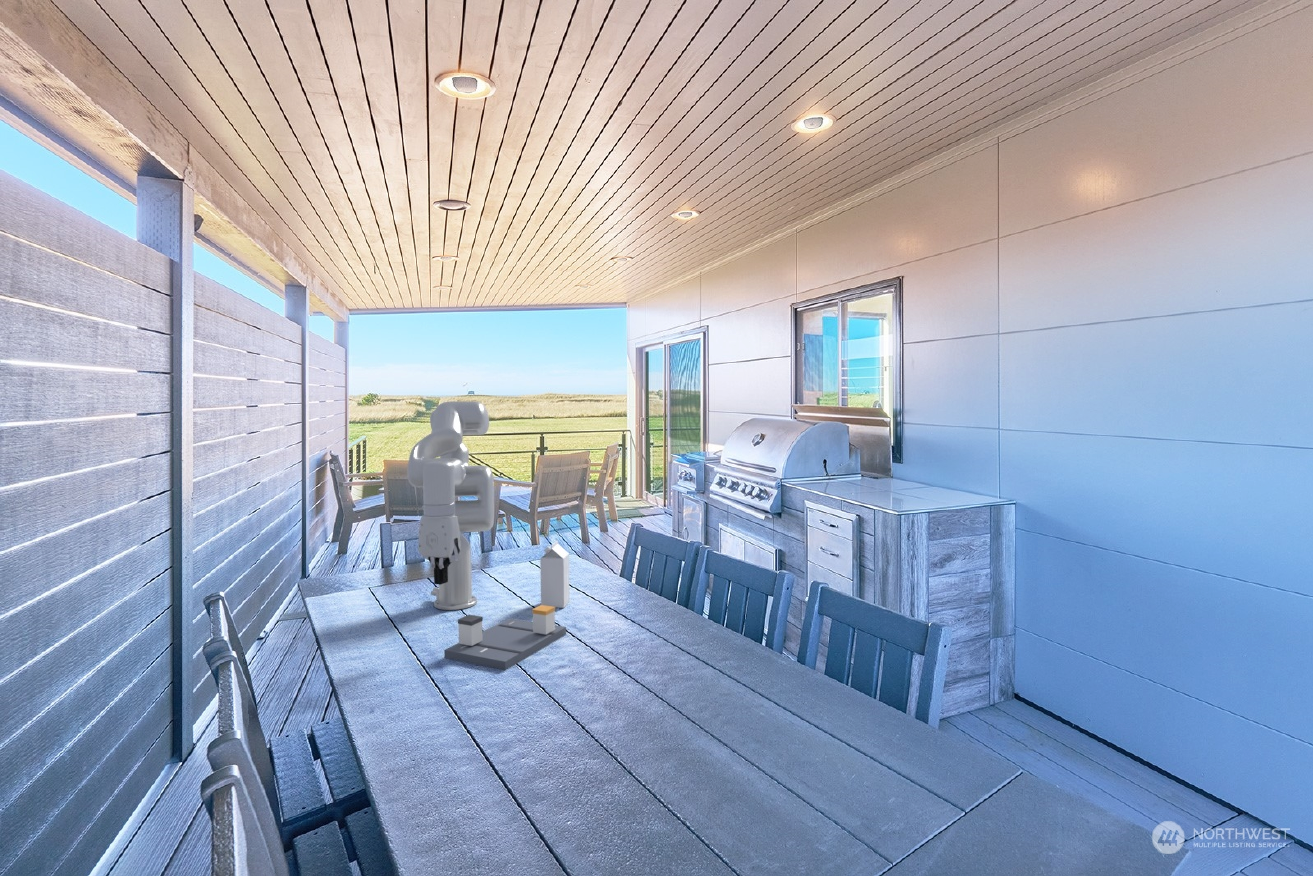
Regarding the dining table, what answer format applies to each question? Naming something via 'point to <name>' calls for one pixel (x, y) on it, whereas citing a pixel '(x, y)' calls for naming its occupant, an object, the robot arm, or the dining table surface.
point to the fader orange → (543, 619)
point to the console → (504, 644)
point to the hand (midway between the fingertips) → (441, 583)
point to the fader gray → (470, 630)
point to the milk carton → (555, 576)
